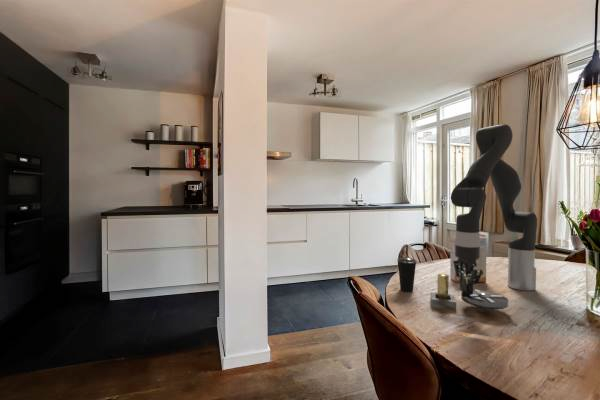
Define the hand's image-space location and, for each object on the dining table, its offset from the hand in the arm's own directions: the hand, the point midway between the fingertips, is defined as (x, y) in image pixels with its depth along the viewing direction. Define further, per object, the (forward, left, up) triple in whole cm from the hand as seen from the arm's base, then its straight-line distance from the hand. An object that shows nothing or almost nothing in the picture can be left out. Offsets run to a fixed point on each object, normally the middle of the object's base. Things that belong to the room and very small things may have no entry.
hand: (466, 292), depth 105 cm
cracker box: (-6, -40, -7) cm, 41 cm away
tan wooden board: (0, -1, -7) cm, 7 cm away
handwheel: (-5, -1, -3) cm, 6 cm away
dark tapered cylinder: (+20, -13, -7) cm, 25 cm away
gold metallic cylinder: (+7, -1, -6) cm, 10 cm away
